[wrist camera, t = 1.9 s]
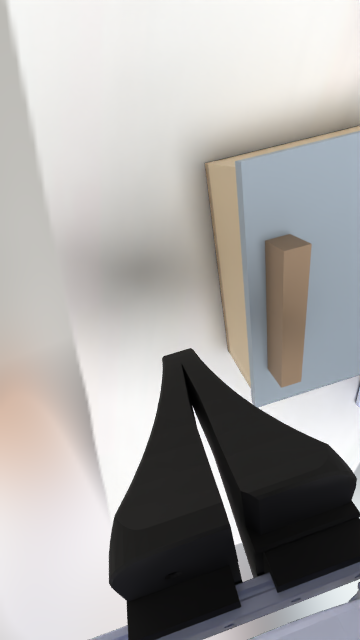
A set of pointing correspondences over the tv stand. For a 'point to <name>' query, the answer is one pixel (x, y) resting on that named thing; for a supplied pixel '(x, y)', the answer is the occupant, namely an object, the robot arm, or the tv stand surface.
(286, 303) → the lid
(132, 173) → the tv stand surface
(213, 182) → the light wooden box
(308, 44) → the tv stand surface
